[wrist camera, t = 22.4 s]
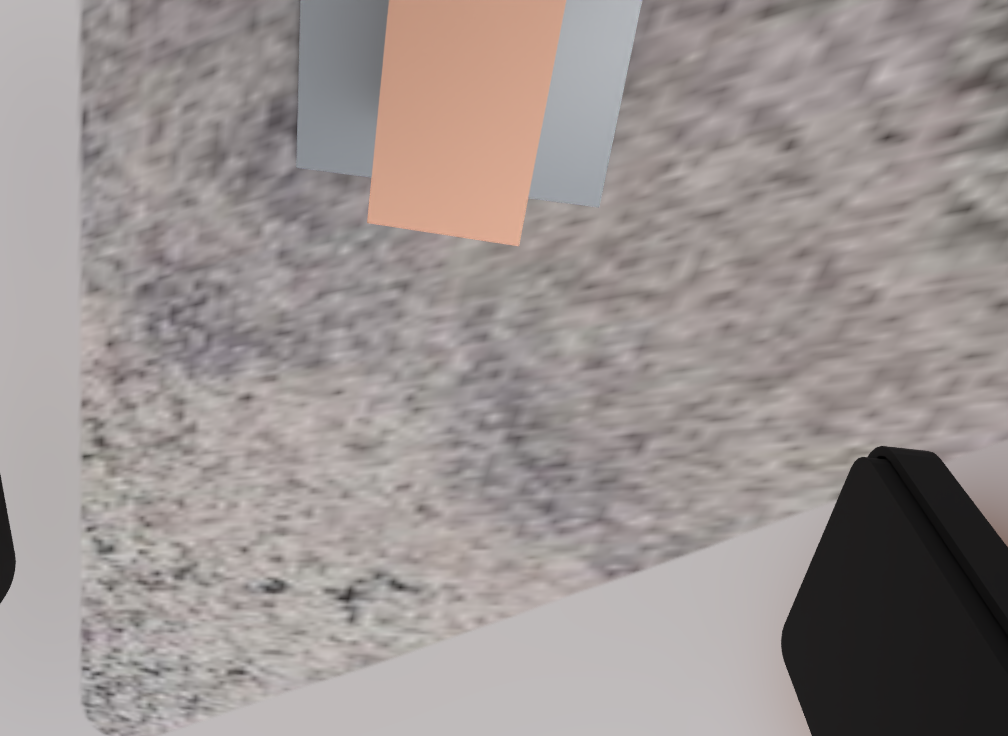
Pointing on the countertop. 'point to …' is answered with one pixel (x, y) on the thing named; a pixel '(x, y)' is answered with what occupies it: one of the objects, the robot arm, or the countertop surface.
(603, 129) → the baseplate
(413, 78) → the terracotta brick
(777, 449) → the countertop surface
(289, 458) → the countertop surface
